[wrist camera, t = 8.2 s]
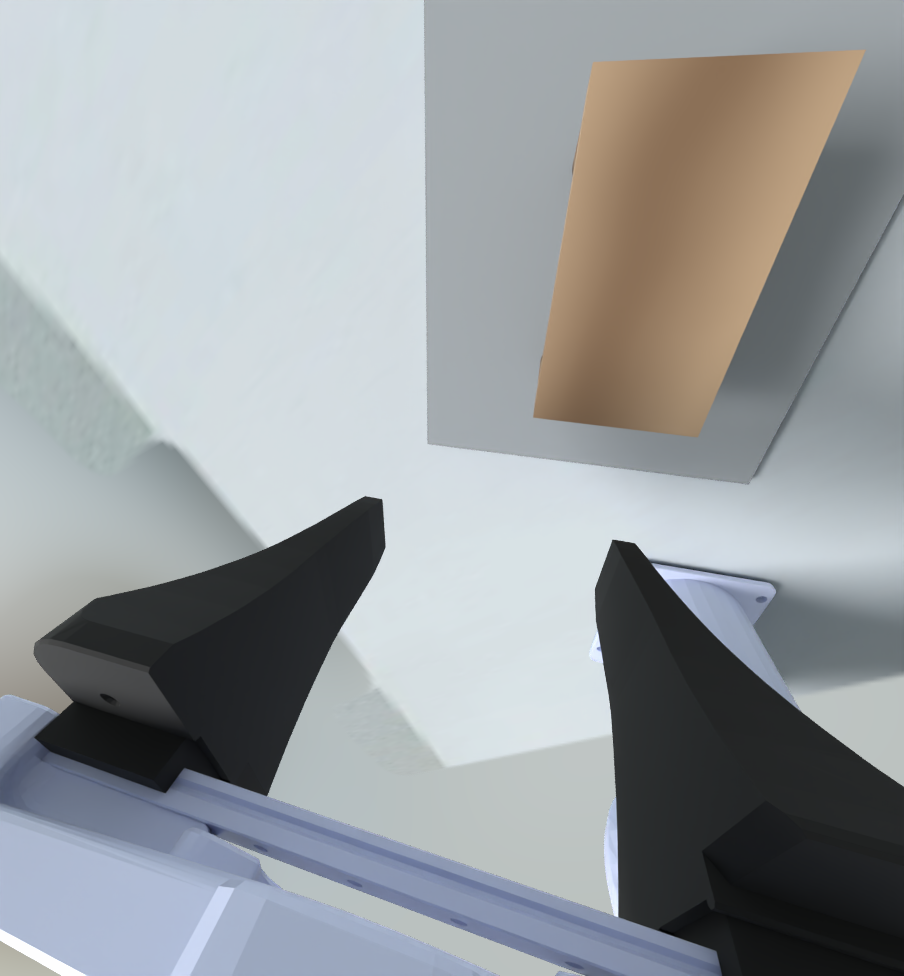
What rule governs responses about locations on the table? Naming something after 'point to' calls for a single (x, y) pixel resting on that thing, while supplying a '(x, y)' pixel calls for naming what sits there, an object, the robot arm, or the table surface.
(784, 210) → the stool
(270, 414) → the table surface
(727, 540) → the table surface
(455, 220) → the mat
